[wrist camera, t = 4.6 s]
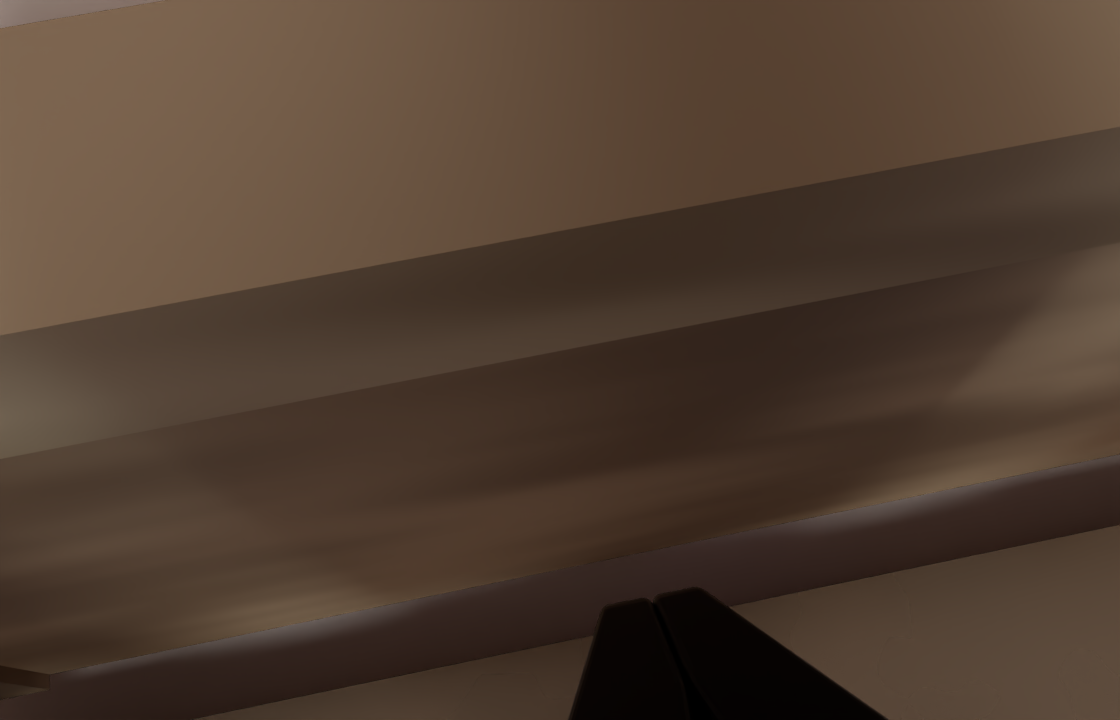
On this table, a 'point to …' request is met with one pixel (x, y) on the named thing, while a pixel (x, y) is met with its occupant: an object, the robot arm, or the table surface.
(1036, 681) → the gate frame
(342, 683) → the table surface
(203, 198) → the gate leaf
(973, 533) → the table surface
